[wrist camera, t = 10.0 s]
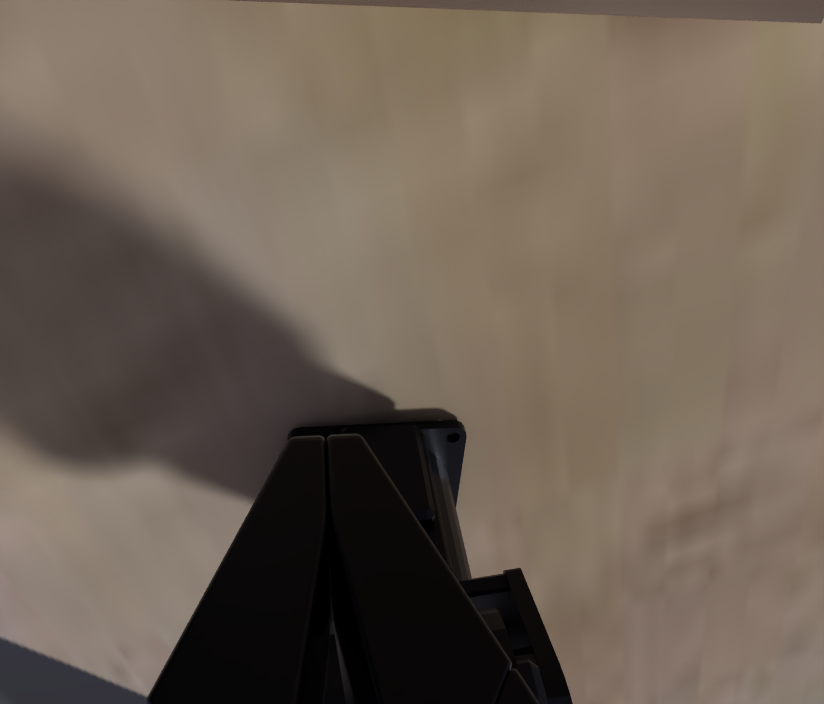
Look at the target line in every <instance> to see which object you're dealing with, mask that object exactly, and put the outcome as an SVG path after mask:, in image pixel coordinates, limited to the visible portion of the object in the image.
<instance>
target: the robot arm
mask: <svg viewBox="0 0 824 704" xmlns="http://www.w3.org/2000/svg"><path fill="white" fill-rule="evenodd" d="M450 433H455V434H453V435H449V434H450ZM465 443H466V432H465V428H464V425H463V424H462V423H461V422H459V421H455V420H447V421H426V422H406V423H385V424H365V425H344V426H323V427H303V428H296V429H294V430H292V431H291V432H290V433H289V434H288V442H287V443H286V445H285V447H284V449H283V451H282V453H281V454H280V456H279V458H278V460H277V462H276V463H275V465H274V467H273V469H272V471H271V473H270V474H269V476H268V478H267V480H266V482H265V484H264V485H263V487H262V489H261V491H260V493H259V494H258V496H257V498H256V500H255V502H254V504H253V505H252V507H251V509H250V511H249V513H248V515H247V516H246V518H245V520H244V522H243V524H242V525H241V527H240V529H239V531H238V533H237V535H236V536H235V538H234V540H233V542H232V544H231V546H230V547H229V549H228V551H227V553H226V555H225V556H224V558H223V560H222V562H221V564H220V566H219V567H218V569H217V571H216V573H215V575H214V577H213V578H212V580H211V582H210V584H209V586H208V588H207V589H206V591H205V593H204V595H203V597H202V598H201V600H200V602H199V604H198V606H197V608H196V609H195V611H194V613H193V615H192V617H191V619H190V620H189V622H188V624H187V626H186V628H185V629H184V631H183V633H182V635H181V637H180V639H179V640H178V642H177V644H176V646H175V648H174V650H173V651H172V653H171V655H170V657H169V659H168V660H167V662H166V664H165V666H164V668H163V670H162V671H161V673H160V675H159V677H158V679H157V681H156V682H155V684H154V686H153V688H152V690H151V692H150V693H149V695H148V697H147V700H146V702H147V704H573V703H572V700H571V696H570V693H569V689H568V686H567V683H566V680H565V677H564V674H563V671H562V669H561V666H560V663H559V661H558V658H557V656H556V653H555V651H554V649H553V646H552V644H551V641H550V639H549V636H548V634H547V631H546V629H545V627H544V624H543V622H542V619H541V617H540V614H539V612H538V609H537V607H536V605H535V602H534V600H533V597H532V595H531V592H530V590H529V587H528V585H527V583H526V580H525V578H524V575H523V573H522V570H521V568H516V569H510V570H504V571H503V574H498V575H492V576H486V577H480V578H474V579H472V577H471V573H470V568H469V564H468V560H467V555H466V551H465V547H464V542H463V538H462V533H461V529H460V525H459V520H458V516H457V512H456V503H457V496H458V490H459V483H460V476H461V470H462V463H463V456H464V450H465Z"/></svg>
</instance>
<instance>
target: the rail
mask: <svg viewBox="0 0 824 704" xmlns="http://www.w3.org/2000/svg"><path fill="white" fill-rule="evenodd" d="M235 1H261V2H286V3H312V4H338V5H363V6H389V7H415V8H440V9H466V10H492V11H517V12H543V13H569V14H594V15H620V16H645V17H671V18H697V19H722V20H748V21H774V22H799V23H822V20H823V18H824V0H235Z"/></svg>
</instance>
